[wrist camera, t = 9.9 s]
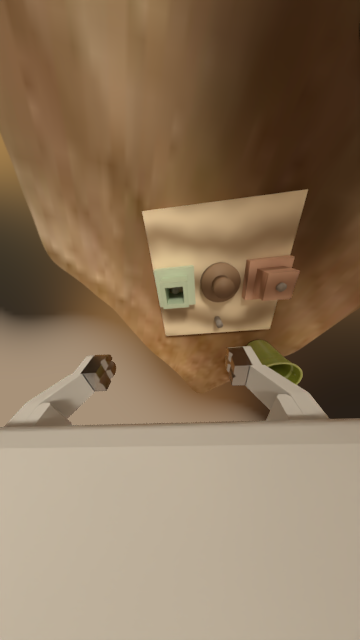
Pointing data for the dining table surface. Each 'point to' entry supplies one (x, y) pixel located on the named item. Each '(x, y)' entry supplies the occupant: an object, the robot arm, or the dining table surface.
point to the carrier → (228, 259)
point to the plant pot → (276, 361)
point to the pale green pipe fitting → (175, 278)
